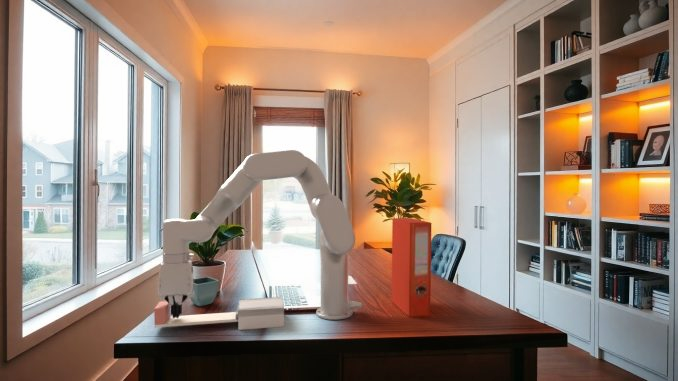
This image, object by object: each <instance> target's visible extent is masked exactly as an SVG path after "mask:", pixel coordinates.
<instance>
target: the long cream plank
mask: <svg viewBox="0 0 678 381" xmlns="http://www.w3.org/2000/svg"><path fill="white" fill-rule="evenodd" d="M153 311H154V312H153V315H154V329H155V328H166V327H179V326H180V327H181V326H182V327H183V326H193V325H194V326H195V325H196V326H197V325H207V324H219V323H220V324H222V323H223V324H224V323H235V322H238V320H236V311H231V312H229V311H228V312H219V313H218V312H216V313H204V314H203V313H200V314H189V315H187V314H186V315H180V316H179V318H176V317H175V318H173V315H171V305H170V304H169V303H168V302H167V301H166V300H163V301H159V302H158V303H157V304H156V306H155V307H154V310H153Z"/></svg>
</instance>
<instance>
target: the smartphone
mask: <svg viewBox="0 0 678 381" xmlns="http://www.w3.org/2000/svg"><path fill="white" fill-rule="evenodd" d="M357 284H358V283H357V281H356V280H355V279H354V278H353V277H352V275H348V286H349V285H351V286H352V285H357Z"/></svg>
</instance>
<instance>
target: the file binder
mask: <svg viewBox="0 0 678 381" xmlns="http://www.w3.org/2000/svg"><path fill="white" fill-rule="evenodd" d="M391 223H392V226H391V227H392V233H391V234H392V235H391V236H392V237H391V242H392V244H391V303H392V304H394V305H395V306H396V307H397V308H398V309H399V310H401V311H402V312H403V313H404V314H405V315H407V316H408V317H410V318H413V317H414V318H415V317H428V316H431V293H432V292H431V289H432V288H431V282H432V275H431V274H432V222H431V221H430V222H429V221H426V220H421V219H416V218H411V217H404V218H403V217H398V218H397V217H394V218H392V222H391Z"/></svg>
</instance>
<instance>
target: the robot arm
mask: <svg viewBox="0 0 678 381" xmlns="http://www.w3.org/2000/svg"><path fill="white" fill-rule="evenodd" d="M287 178H294V179H295V180H297V181H298V182H299V184H300V186H301V189H302V191H303V192H304V196H305V197H306V198H305V199H306V201H307V204H308V206H309V210H310V213H311V215H312V217H313V218H314V219H315V220H317V221H318V223H319V225H320V228H321V230H320V232H319V238H318V240H319V241H318V243H319V250H320V253H319V254H320V307H318V308H317V309H316V312H315V313H316V316H318V317H319V318H321V319H324V320H331V321H332V320H333V321H335V320H344V319H348V318H350V317H352V316H353V313H354V312H353V309H361V308H363V304H362V301H361V302H360V301H356V300H353V301H350V300H349V285H348V276H349V253H350V252H351V251H352V250H353V249H354V247H355V244H356V234H355V232H354V229H353V226H352V223H351V221H350V218H349V215H348V212H347V210H346V208H345V205H344V203H343V201H342V200H341V199H340V198H339V197H338V196H336V195H335V194H333V193H332V191H331V189H330V186H329V184H328V182H327V179H326V177H325V175H324V173H323V171H322V169H321V167H320V166H319V165H318V164H317V163H316V162H315V161H314V160H313V159H311V158H310V157H308V156H305V155H304V154H303V153H302V152H301V151H299V150H296V149H290V150H289V149H288V150H281V151H279V150H278V151H272V152H271V151H269V152H259V153H258V152H256V153H251V154H249V155H248V156H246V158H245V159H244V160H243V162H241V164H240V165H239V166H238V167H237V169H235V171H234V172H233V173H232V174H231V175H230V176H229V177H228V179H227V180H226V181H225V182H224V183H223V184H222V185H221V186H220V187H219V189H218V190H217V192H216V194H215V196H214V197H213V198H212V200H211V201H209V203H208V204H207V206H206V207H204V209H203V210H202V211H201V212H200V213H199V214H198V215H197V216H196V218H195V219H186V218H169V219H167V218H166V219H165V220H164V221H162V262H160V266H159V270H158V271H159V273H158V283H157V293H158V294H157V299H159V300H163V301H167V302H168V303H169V304H170V316H173V318H175V317H176V318H179V316H181V315H182V314H183V303H184V302H185V301H186V300H187V299H190V298H191V297H194V295H195V294H194V290H193V289H194V279H195V278H194V276H195V274H194V266H193V261H192V260H191V259H194V258H195V256H194V255H195V254H194V253H191V252H190V248H189V246H190V243H205V242H208V241H209V240H210V239H211V238H212V236H213V235H214V233H215V231H216V230H217V229H218V228H219V227H220V226H221V225H222V223H224V221H225V220H226V219H227V218H228V217H229V216H230V215H231V214H232V213H233V212H234V211H236V210H237V209H238V208H239V207H240V206H241V205H242V204H243V203H244V202H245V201H246V200H247V198H249V196H250V195H251V194H252V192H253V191H254V190H255V189H256V188H257V187H258V186H259V185H260V184H261V183H262V181H269V180H277V179H287ZM175 296H178V297H177V301H176V298H175Z"/></svg>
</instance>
